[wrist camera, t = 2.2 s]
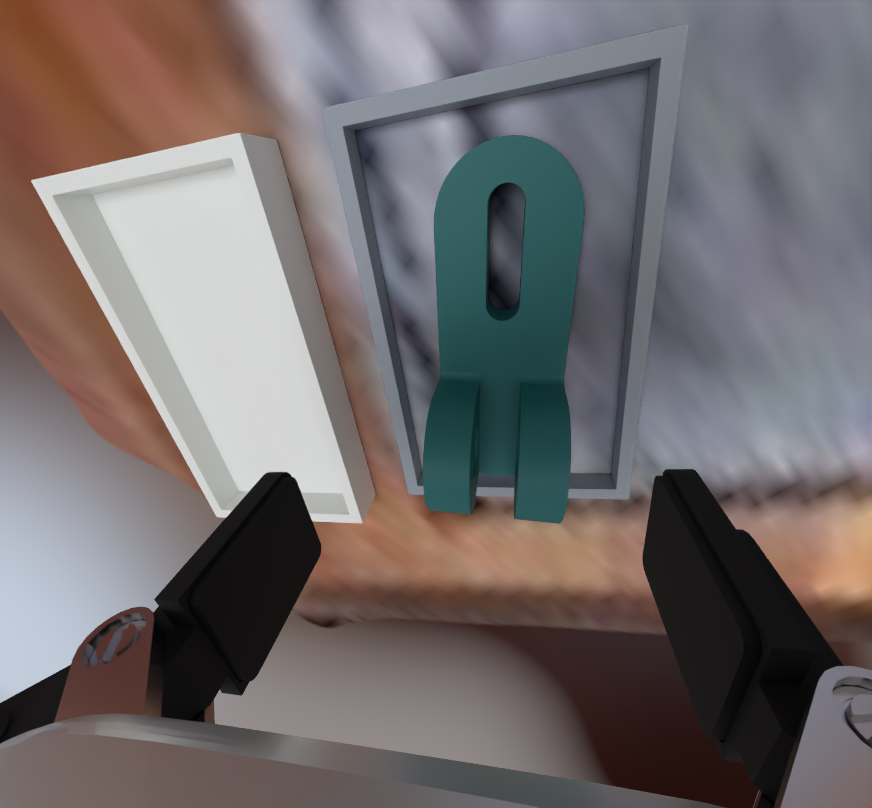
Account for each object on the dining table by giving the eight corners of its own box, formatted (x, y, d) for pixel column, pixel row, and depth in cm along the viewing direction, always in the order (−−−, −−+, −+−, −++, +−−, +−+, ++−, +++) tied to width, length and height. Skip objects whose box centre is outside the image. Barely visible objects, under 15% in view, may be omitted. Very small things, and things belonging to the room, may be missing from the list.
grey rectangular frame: (674, 36, 15) (688, 22, 14) (623, 483, 26) (628, 499, 24) (335, 113, 18) (321, 108, 17) (413, 480, 29) (408, 494, 28)
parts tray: (276, 139, 19) (239, 132, 17) (375, 494, 30) (362, 523, 28) (87, 181, 22) (30, 180, 20) (240, 491, 33) (216, 517, 31)
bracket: (548, 457, 26) (558, 552, 19) (450, 450, 27) (427, 537, 20) (587, 135, 17) (630, 102, 10) (439, 146, 18) (393, 123, 12)
